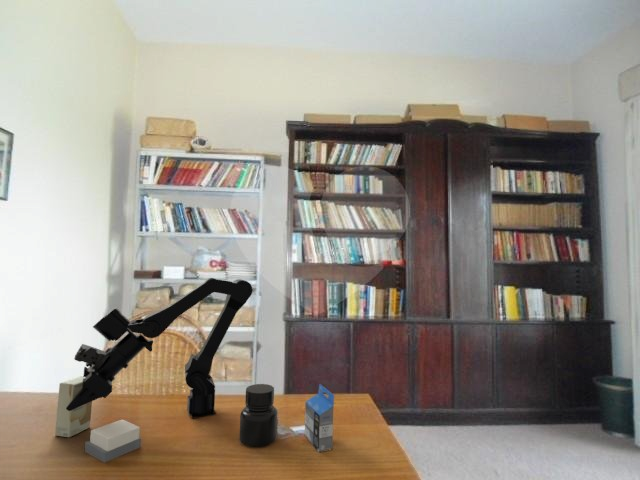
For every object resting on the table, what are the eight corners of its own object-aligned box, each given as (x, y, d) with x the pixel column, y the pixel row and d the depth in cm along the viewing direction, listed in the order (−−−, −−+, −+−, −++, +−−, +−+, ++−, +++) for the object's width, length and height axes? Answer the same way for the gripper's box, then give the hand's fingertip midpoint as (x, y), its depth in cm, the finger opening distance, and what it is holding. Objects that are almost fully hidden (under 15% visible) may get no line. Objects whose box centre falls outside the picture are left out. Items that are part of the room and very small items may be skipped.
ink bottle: (284, 435, 90) (285, 385, 91) (267, 452, 81) (269, 397, 82) (249, 428, 93) (251, 380, 94) (230, 444, 85) (232, 391, 85)
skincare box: (69, 438, 85) (73, 385, 86) (53, 436, 86) (57, 383, 87) (91, 426, 91) (95, 376, 92) (77, 424, 92) (80, 375, 93)
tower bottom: (120, 439, 86) (121, 428, 86) (140, 449, 82) (141, 437, 82) (84, 453, 80) (85, 442, 80) (104, 465, 75) (104, 452, 75)
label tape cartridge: (303, 435, 90) (305, 384, 91) (317, 433, 91) (319, 383, 92) (318, 453, 82) (319, 396, 83) (333, 449, 83) (334, 394, 84)
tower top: (121, 430, 86) (122, 419, 86) (139, 438, 82) (139, 427, 82) (90, 442, 80) (90, 430, 80) (107, 451, 76) (108, 439, 76)
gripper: (98, 327, 100) (45, 373, 94) (98, 340, 84) (35, 396, 78) (128, 353, 104) (79, 399, 97) (134, 370, 88) (76, 426, 81)
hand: (68, 404), depth 88 cm, fingers closed on skincare box, 7 cm apart
